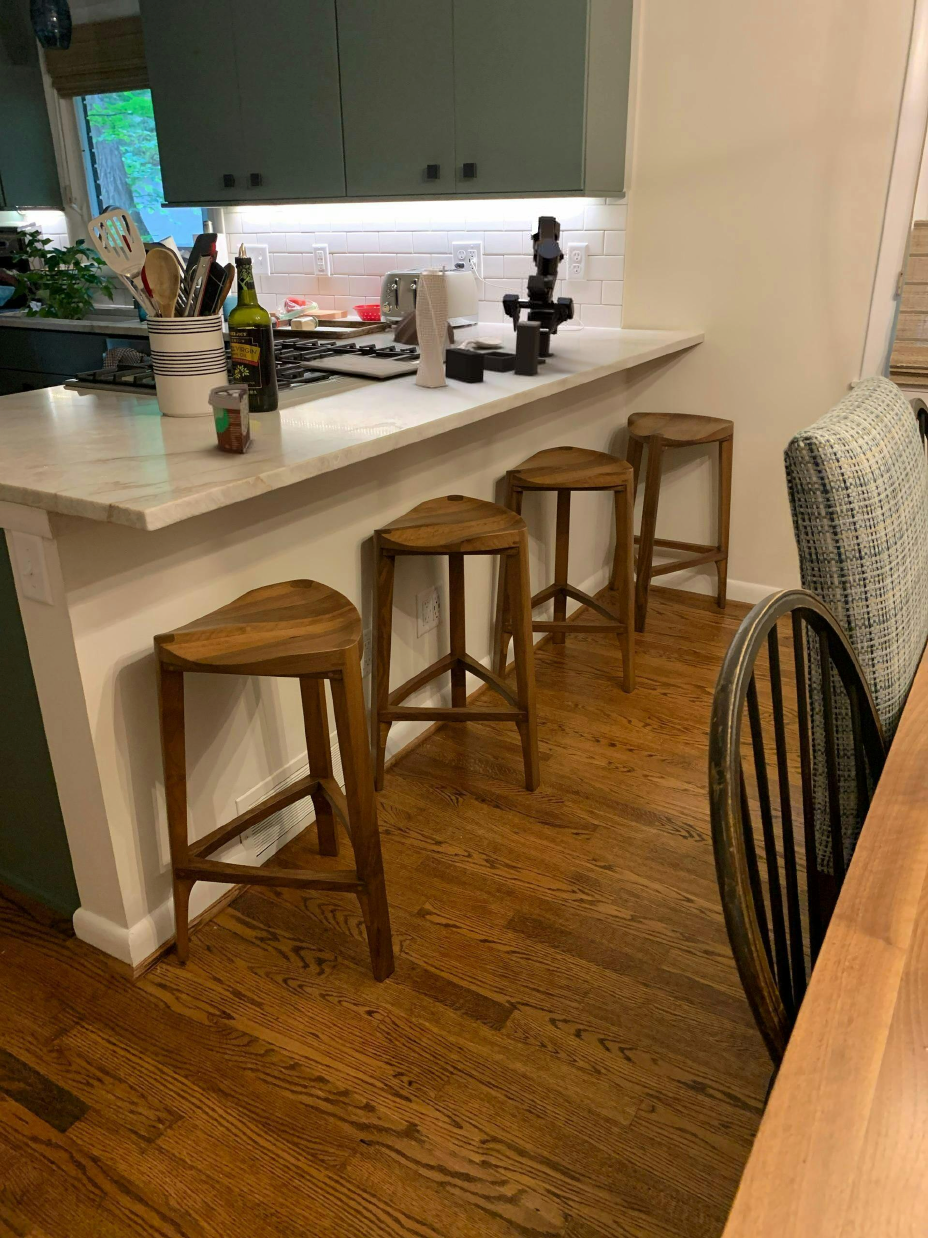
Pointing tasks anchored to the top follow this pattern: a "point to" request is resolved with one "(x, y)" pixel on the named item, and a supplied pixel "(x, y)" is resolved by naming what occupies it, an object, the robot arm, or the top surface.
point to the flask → (445, 345)
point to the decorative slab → (362, 365)
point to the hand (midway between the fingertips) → (531, 332)
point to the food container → (231, 417)
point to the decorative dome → (413, 330)
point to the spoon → (483, 342)
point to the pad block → (527, 348)
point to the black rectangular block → (464, 365)
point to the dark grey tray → (501, 361)
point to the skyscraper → (431, 327)
